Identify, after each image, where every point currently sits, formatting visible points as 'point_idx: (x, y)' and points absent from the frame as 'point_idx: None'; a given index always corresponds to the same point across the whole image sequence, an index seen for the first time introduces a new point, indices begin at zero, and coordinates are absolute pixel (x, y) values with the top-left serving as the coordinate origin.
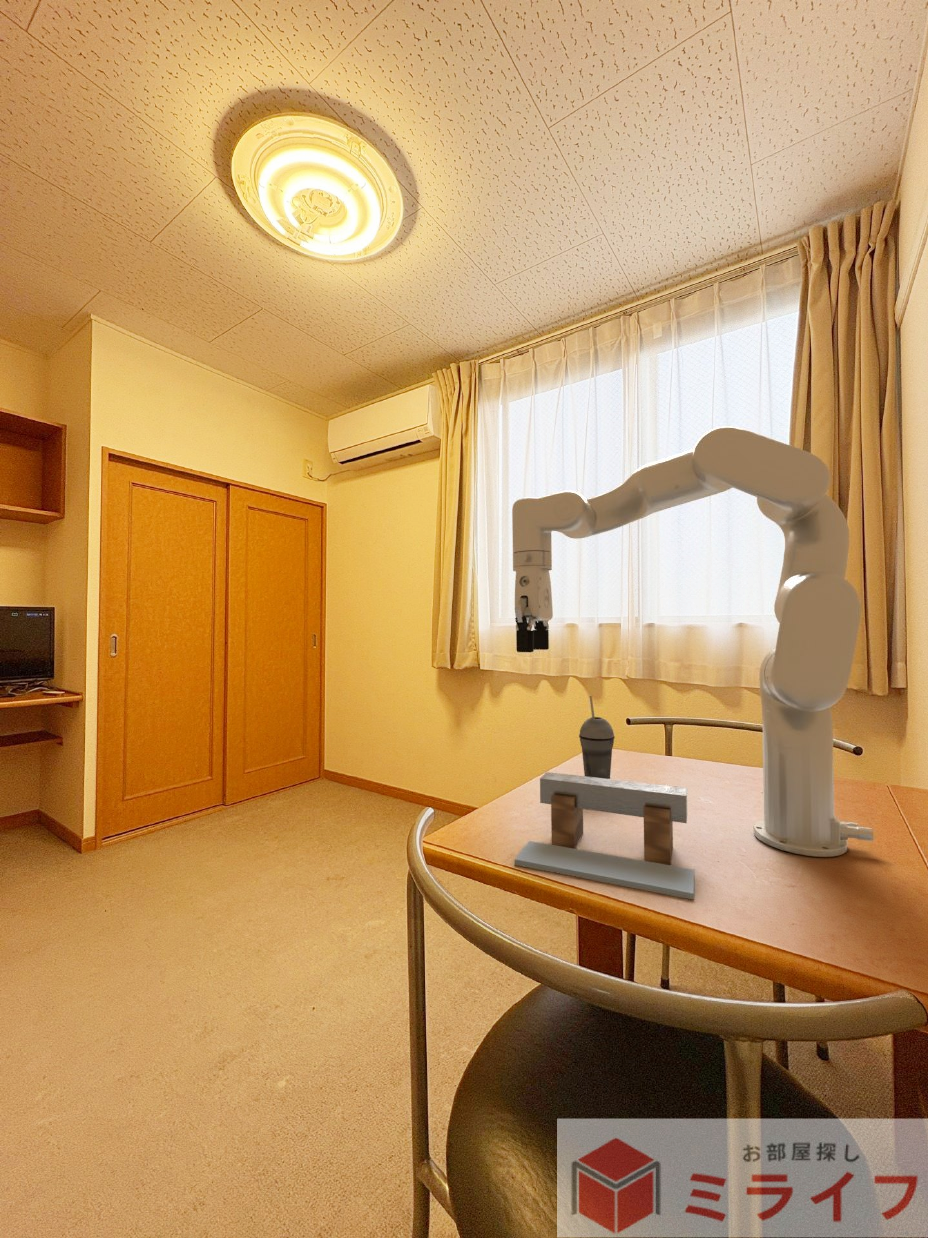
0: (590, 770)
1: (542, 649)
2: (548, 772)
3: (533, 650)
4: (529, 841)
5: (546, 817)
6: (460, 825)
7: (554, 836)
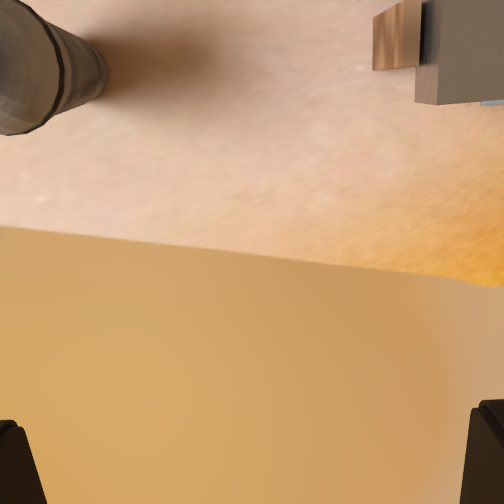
0: (90, 80)
1: (25, 457)
2: (441, 98)
3: (494, 402)
4: (488, 103)
5: (314, 129)
6: (427, 269)
7: None
